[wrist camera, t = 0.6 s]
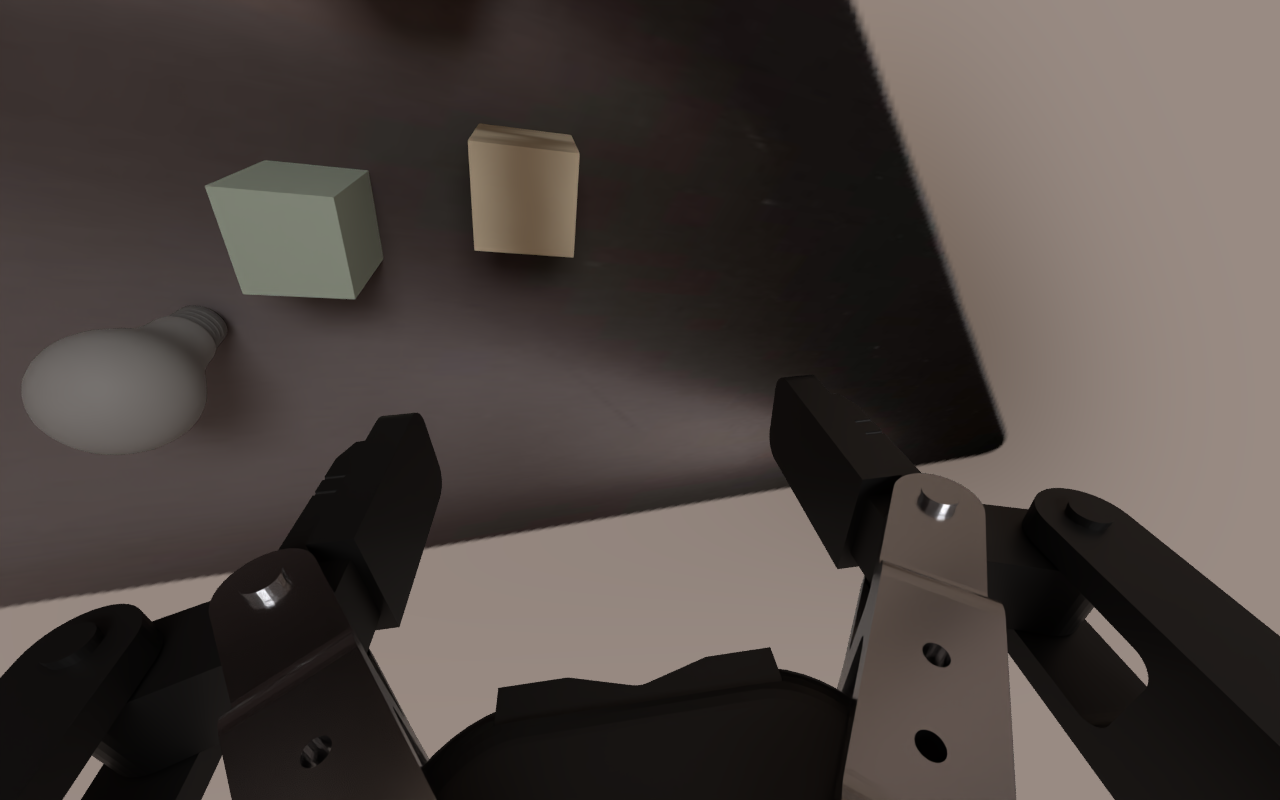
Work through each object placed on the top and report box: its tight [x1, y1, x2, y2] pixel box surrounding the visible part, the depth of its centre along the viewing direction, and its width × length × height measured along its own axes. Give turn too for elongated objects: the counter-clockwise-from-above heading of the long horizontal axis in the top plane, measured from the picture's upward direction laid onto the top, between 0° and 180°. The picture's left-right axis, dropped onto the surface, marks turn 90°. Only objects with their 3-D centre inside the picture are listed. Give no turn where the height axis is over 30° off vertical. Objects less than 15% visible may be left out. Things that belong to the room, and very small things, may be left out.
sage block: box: [205, 160, 383, 299], centre depth 25 cm, size 5×5×6 cm
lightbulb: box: [21, 306, 227, 455], centre depth 25 cm, size 6×6×11 cm
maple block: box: [468, 124, 579, 257], centre depth 26 cm, size 5×5×6 cm
